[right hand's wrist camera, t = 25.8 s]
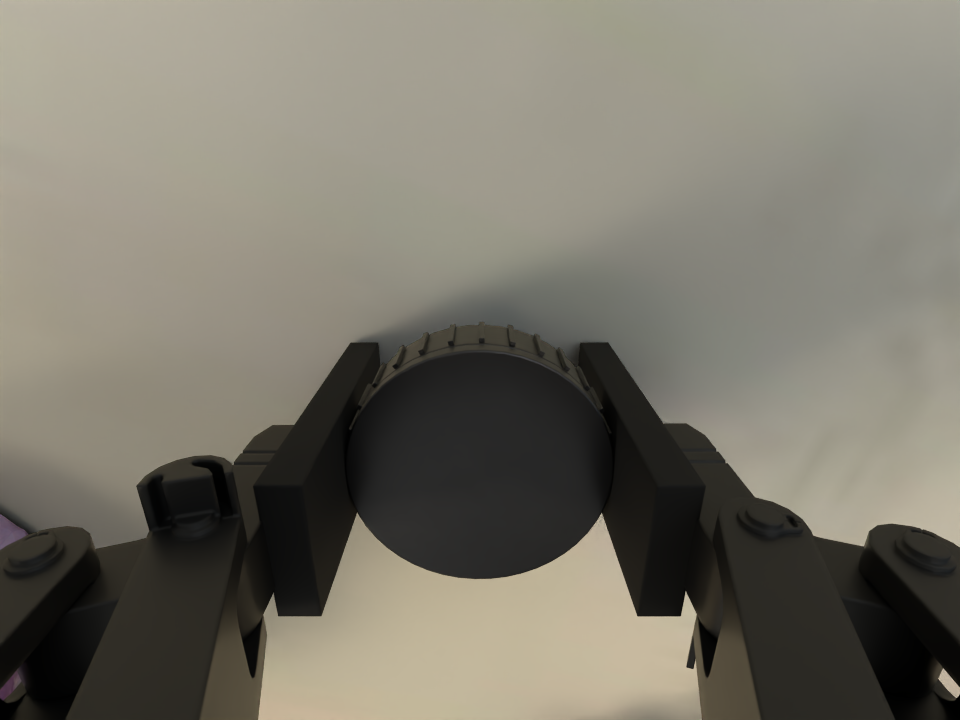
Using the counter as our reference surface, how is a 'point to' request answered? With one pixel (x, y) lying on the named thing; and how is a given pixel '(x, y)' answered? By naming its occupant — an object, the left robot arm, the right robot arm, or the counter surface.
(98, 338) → the counter surface
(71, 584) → the right robot arm
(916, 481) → the counter surface
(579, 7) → the counter surface
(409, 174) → the counter surface
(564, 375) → the lid
